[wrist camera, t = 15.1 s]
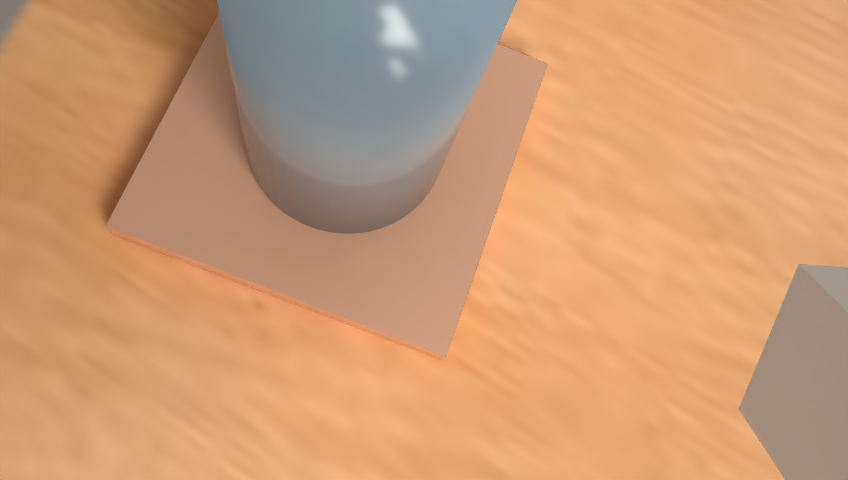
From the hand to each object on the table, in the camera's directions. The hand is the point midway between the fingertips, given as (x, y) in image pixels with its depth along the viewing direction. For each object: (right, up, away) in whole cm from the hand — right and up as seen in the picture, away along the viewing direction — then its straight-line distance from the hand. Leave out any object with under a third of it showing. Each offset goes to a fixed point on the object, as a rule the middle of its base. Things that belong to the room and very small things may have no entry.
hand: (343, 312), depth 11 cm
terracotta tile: (-2, +5, +19) cm, 20 cm away
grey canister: (-2, +6, +19) cm, 20 cm away
